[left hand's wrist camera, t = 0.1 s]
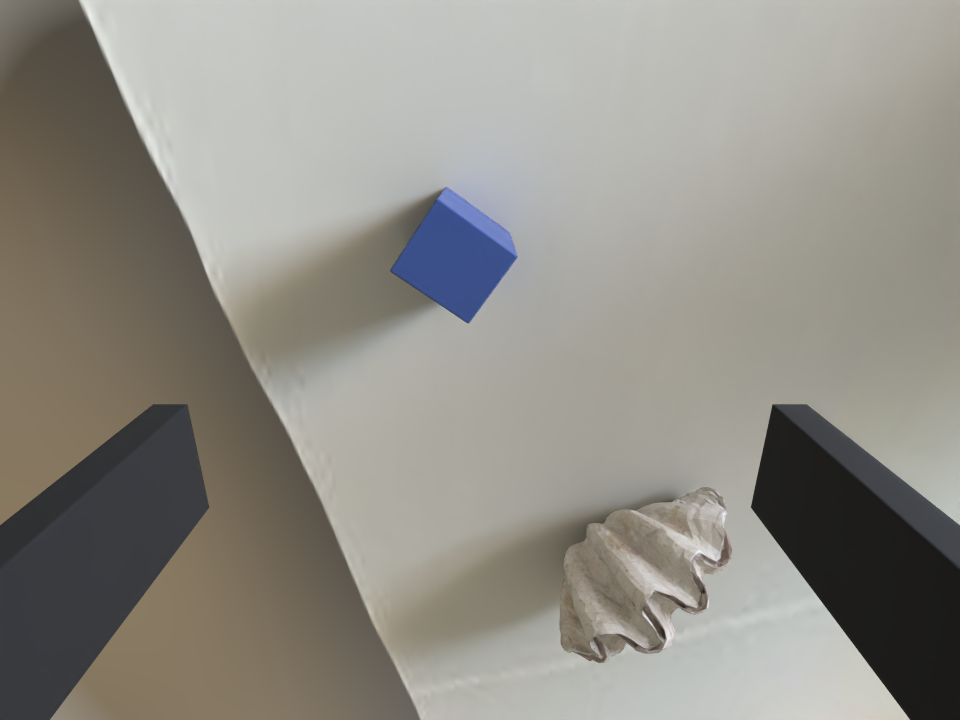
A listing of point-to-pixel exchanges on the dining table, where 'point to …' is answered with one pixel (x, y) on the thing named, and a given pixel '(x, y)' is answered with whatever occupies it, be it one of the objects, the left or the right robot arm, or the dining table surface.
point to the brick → (456, 256)
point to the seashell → (641, 574)
